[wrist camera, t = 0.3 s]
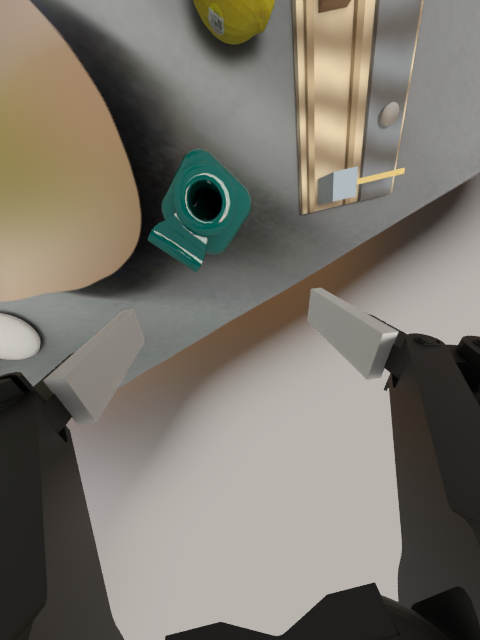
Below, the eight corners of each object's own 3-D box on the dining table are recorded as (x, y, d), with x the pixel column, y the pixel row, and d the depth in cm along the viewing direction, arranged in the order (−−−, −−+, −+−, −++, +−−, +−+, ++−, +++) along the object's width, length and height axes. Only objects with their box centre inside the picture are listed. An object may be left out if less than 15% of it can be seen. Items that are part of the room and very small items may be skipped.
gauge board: (290, -38, 23) (314, -122, 17) (426, -67, 23) (493, -159, 17) (300, 214, 36) (315, 212, 30) (386, 194, 36) (417, 188, 31)
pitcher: (202, 175, 31) (184, 92, 12) (241, 210, 34) (276, 189, 15) (175, 226, 34) (124, 226, 15) (212, 254, 37) (211, 284, 18)
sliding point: (318, 179, 32) (333, 171, 28) (383, 163, 33) (409, 154, 28) (318, 204, 34) (332, 201, 30) (380, 189, 35) (403, 184, 30)
